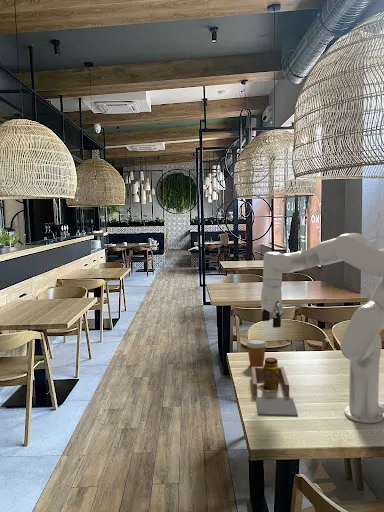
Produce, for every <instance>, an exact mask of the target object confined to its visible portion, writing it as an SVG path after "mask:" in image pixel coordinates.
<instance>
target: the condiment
mask: <svg viewBox="0 0 384 512" xmlns="http://www.w3.org/2000/svg"><path fill="white" fill-rule="evenodd" d="M263 367H264V379H263V384H260V385H257V389H259V390H261V391H263V392H266V393H268V394H269V393H271V392H274V391H275V392H276V391H278V390H280V389H283V386H280V385H279V381H280V379H278V375H279V374H278V370H279V368H278V367H279V365H278V359H277V358H275V357H266V358H264V364H263Z"/></svg>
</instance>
